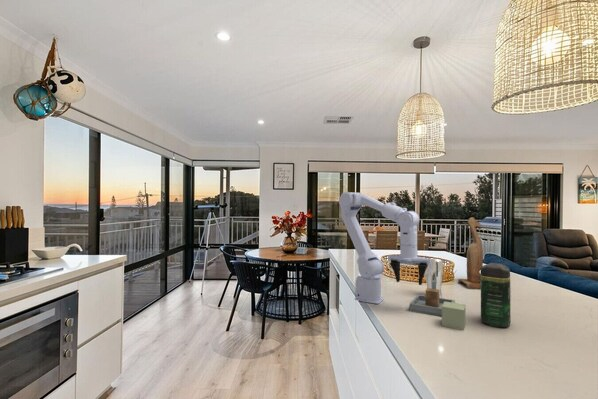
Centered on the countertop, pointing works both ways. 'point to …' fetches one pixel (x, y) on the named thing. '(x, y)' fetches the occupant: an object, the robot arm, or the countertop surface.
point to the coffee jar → (495, 295)
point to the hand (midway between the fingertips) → (409, 282)
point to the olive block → (453, 315)
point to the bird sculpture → (474, 258)
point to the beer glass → (435, 275)
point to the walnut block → (432, 297)
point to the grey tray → (420, 307)
